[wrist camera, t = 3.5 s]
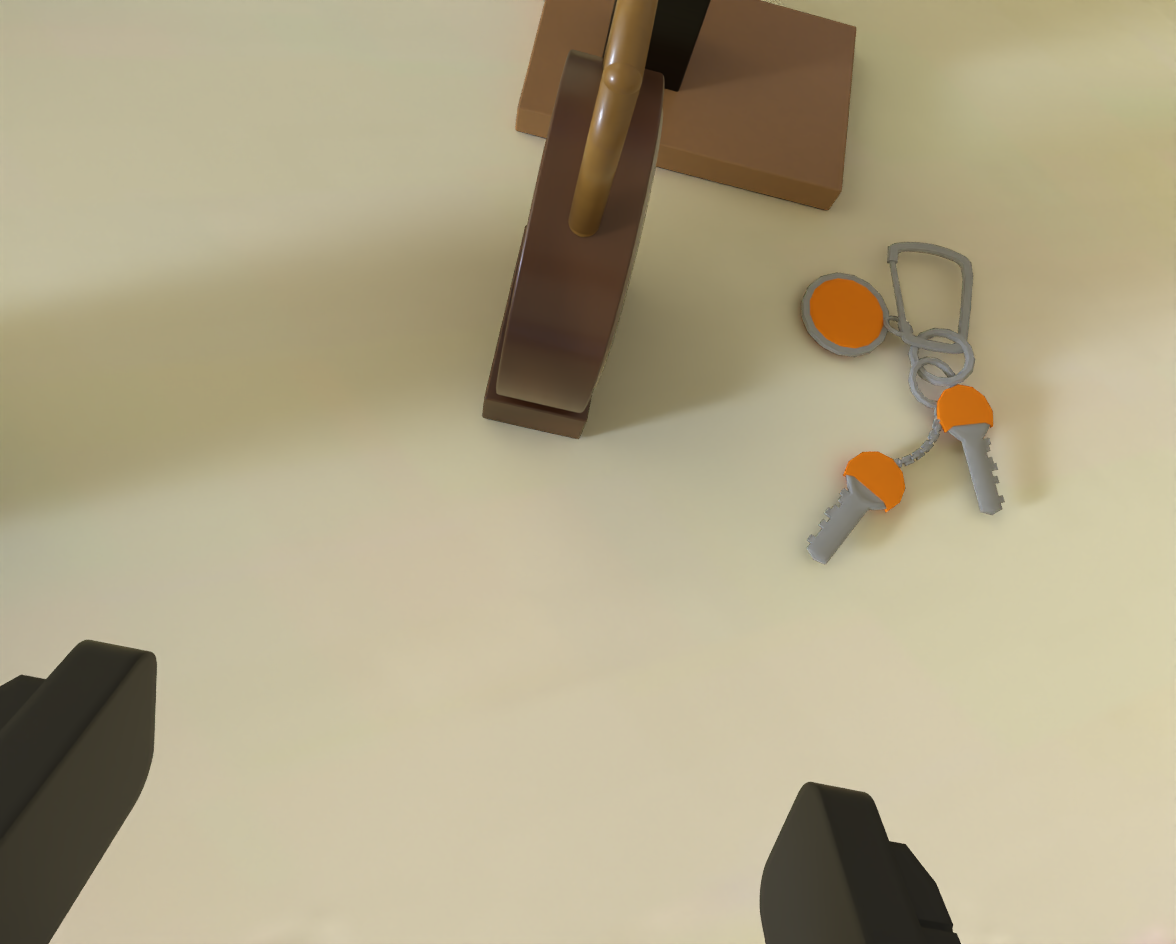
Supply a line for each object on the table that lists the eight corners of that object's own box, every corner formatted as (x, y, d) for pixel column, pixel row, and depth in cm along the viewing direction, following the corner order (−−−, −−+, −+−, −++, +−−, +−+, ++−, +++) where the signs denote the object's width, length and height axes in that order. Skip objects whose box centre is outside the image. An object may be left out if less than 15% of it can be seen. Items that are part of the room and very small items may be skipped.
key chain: (803, 225, 32) (812, 211, 31) (988, 263, 33) (1002, 250, 32) (789, 561, 28) (800, 555, 27) (1003, 594, 29) (1019, 590, 28)
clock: (472, 455, 27) (505, 147, 14) (528, 219, 31) (600, -222, 17) (571, 477, 28) (699, 197, 14) (617, 241, 31) (758, -175, 17)
